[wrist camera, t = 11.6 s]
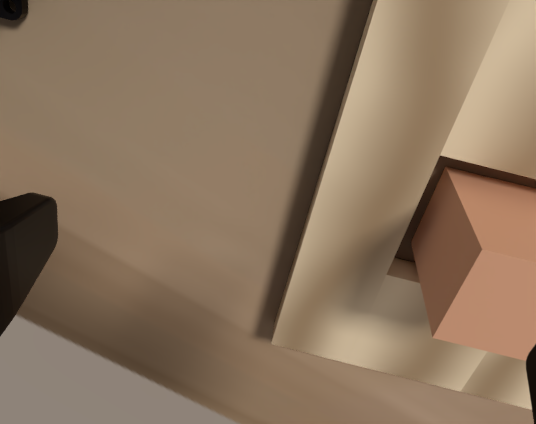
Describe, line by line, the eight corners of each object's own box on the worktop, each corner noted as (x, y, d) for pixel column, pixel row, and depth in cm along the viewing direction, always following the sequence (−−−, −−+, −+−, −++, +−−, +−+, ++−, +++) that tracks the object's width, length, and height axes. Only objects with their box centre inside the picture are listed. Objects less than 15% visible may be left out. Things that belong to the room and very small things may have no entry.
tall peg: (410, 242, 22) (432, 337, 17) (445, 166, 20) (482, 249, 15) (495, 262, 22) (542, 365, 17) (538, 189, 20) (607, 280, 15)
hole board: (274, 323, 25) (270, 344, 24) (388, -50, 16) (391, -47, 15) (526, 386, 25) (536, 410, 24) (789, 51, 16) (828, 62, 15)
